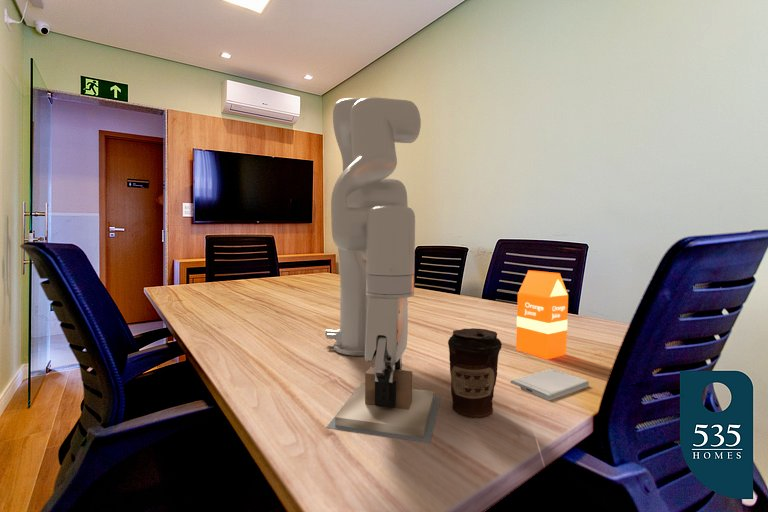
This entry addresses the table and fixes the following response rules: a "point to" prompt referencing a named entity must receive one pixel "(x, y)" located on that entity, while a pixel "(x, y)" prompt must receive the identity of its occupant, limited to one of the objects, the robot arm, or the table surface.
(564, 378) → the hard drive
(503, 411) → the table surface
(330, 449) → the table surface
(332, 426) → the mat
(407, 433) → the lid
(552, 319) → the orange juice
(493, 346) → the coffee cup
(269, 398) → the table surface
